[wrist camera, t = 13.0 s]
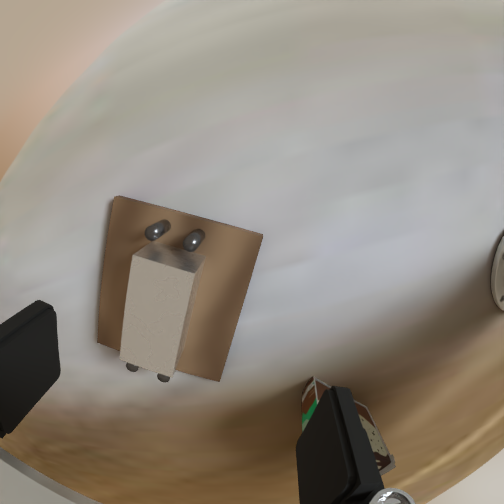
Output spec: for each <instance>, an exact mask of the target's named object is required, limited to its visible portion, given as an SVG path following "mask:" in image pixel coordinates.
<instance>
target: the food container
mask: <svg viewBox="0 0 504 504" xmlns="http://www.w3.org/2000/svg"><path fill="white" fill-rule="evenodd" d="M330 388H331V386H329V385H327V384H326V383H324V382H322V381H320V380H319V379H317V378H315V377H314V376H313V377H312V378H311V380H310V381H309V382H308V383H307V385H306V387H305V389H304V391H303V393H302V402H301V406H302V432H303V430H304V429H305V427H306V425H307V423H308V421H309V419H310V418H311V416H312V414H313V412H314V410H315V408H316V406H317V404H318V402H319V400H320V398H321V396H322V394H323V392H324V391H325V390H326V389H328V390H329V389H330ZM354 402H355V405H356V408H357V411H358V414H359V417H360V420H361V423H362V426H363V428H364V429H365V430H366V432H367V435H368V438H369V441H370V444H371V447H372V450H373V453H374V456H375V459H376V462H377V466H378V469H379V472H380V475H383V474H385V473H387V472H389V471H390V470H392V469H393V468H395V467H396V466H395V460H394V456H393V454H392V455H390V453H389V451H388V449H387V447H386V445H385V443H384V440H383V438H382V436H381V434H380V432H379V430H378V428H377V426H376V424H375V422H374V420H373V418H372V416H371V414H370V412H369V410H368V408H367V407H366V406H365V405H363V404H361V403H359V402H357V401H356V400H354Z"/></svg>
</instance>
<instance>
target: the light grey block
mask: <svg viewBox="0 0 504 504" xmlns="http://www.w3.org/2000/svg"><path fill="white" fill-rule="evenodd" d="M205 258H206V256H204V255H200V254H197V253H193V252H188V251H186V250H183V249H180V248H176V247H173V246H169V245H166V244H162V243H159V242H156V241H152V242H151V243H149V244H148V245H146V246H145V247H143V248H142V249H141V250H139V251H138V252H136V253H135V254H133V256H132V262H131V268H130V275H129V281H128V288H127V295H126V303H125V311H124V319H123V328H122V338H121V349H120V360H122V361H125V362H128V363H130V364H133V365H136V366H139V367H142V368H144V369H147V370H150V371H153V372H156V373H159V374H163V375H166V376H169V377H173V375H174V372H175V370H176V367H177V364H178V362H179V359H180V357H181V354H182V352H183V350H184V346H185V341H186V337H187V332H188V328H189V324H190V319H191V315H192V311H193V307H194V302H195V298H196V294H197V290H198V286H199V282H200V278H201V274H202V270H203V266H204V262H205Z"/></svg>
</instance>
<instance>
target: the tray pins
mask: <svg viewBox="0 0 504 504" xmlns="http://www.w3.org/2000/svg"><path fill="white" fill-rule="evenodd" d="M170 228H171V224H170V222H169V221H168V220H166V219H163V220H160V221H158V222H156V223H154V224H152V225H150V226H149V227H147V228H146V229H145V237H146V238H147V239H148V240H149V241H155V240H156V239H158V238H159V237H161V236H162V235H164V234H165V233H167V232H168V231H169V230H170ZM204 239H205V232H204V231H203V230H201V229H195V230H194V231H193V232H192V233H191V234H189V235H188V236H187V237H186V238H185V239H184V240H183V248H184V249H185V250H186V251H188V252H194V251H195V250H196V249H197V248H198V247H199V245H200V244H201V243H202V242H203V240H204ZM126 367H127V369H128V370H130V371H131V372H136V371H137V370H138V368H139V366H136V365H133V364H130V363H128V362H127V364H126ZM157 377H158V379H159V380H160V381H161V382H168V381H169V379H170V377H169V376H166V375H163V374H159V373H158V375H157Z"/></svg>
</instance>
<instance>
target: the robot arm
mask: <svg viewBox="0 0 504 504" xmlns="http://www.w3.org/2000/svg"><path fill="white" fill-rule="evenodd" d="M491 288H492V294H493V298H494V301H495V303H496V305H497V306H498V307H499V308H500V309H501V310H503V311H504V236H503V237H502V240H501V242H500V244H499V246H498V249H497V251H496V254H495V258H494V262H493V267H492V274H491ZM59 376H60V361H59V350H58V337H57V317H56V312H55V311H54V309H53V306H51V305H50V304H47V303H45V302H43V301H41V300H37V301H35V302H34V303H32V304H31V305H29V306H27V307H26V308H24V309H23V310H21V311H20V312H18V313H17V314H15V315H14V316H12V317H11V318H9V319H8V320H6V321H5V322H3V323H2V324H0V438H3V437H4V436H5V435H6V433H7V434H10V433H11V432H12V431H13V430H14V429H15V428H16V426H17V425H18V424H19V423H20V422H21V421H22V419H23V418H24V417H25V416H26V415H27V414H28V412H29V411H30V410H31V409H32V408H33V407H34V405H35V404H36V403H37V402H38V401H39V400H40V399H41V397H42V396H43V395H44V394H45V393H46V392H47V391H48V390H49V388H50V387H51V386H52V385H53V384H54V383H55V382H56V381H57V379H58V378H59ZM296 458H297V471H298V484H299V499H300V504H415V502H414V500H413V499H412V498H411V496H410V495H409V494H407V493H406V492H404V491H402V490H400V489H396V488H387V489H385V488H384V485H383V482H382V478H381V475H380V472H379V469H378V466H377V462H376V459H375V456H374V453H373V450H372V447H371V444H370V441H369V438H368V435H367V432H366V430H365V429H364V428H363V426H362V423H361V420H360V417H359V414H358V411H357V408H356V405H355V402H354V399H353V396H352V393H351V391H350V389H349V388H344V387H337V386H332V387H331V388H330V389H329V390H328V389H326V390H325V391H324V392H323V394H322V396H321V398H320V400H319V402H318V404H317V406H316V408H315V410H314V412H313V414H312V416H311V418H310V419H309V421H308V423H307V425H306V427H305V429H304V430H303V432H302V434H301V436H300V438H299V439H298V442H297V445H296ZM0 504H102V503H99V502H97V501H95V500H93V499H90V498H88V497H86V496H84V495H82V494H79V493H77V492H75V491H73V490H71V489H69V488H67V487H65V486H63V485H61V484H60V483H58V482H56V481H54V480H52V479H50V478H49V477H47V476H45V475H43V474H41V473H40V472H38V471H36V470H35V469H33V468H31V467H30V466H28V465H27V464H25V463H23V462H22V461H20V460H19V459H17V458H16V457H14V456H13V455H11V454H10V453H8V452H7V451H5V450H4V449H2V448H1V447H0Z"/></svg>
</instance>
